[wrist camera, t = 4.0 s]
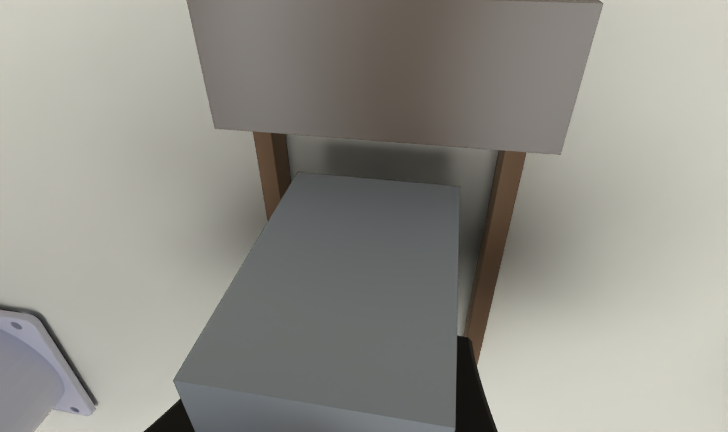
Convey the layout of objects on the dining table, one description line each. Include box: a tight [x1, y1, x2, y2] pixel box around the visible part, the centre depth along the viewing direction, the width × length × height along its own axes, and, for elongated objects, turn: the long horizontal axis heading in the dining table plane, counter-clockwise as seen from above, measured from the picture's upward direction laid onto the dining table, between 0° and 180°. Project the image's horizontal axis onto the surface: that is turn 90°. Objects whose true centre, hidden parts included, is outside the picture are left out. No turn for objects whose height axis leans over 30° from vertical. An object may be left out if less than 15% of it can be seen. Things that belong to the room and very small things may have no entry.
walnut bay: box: [187, 0, 603, 365], centre depth 13 cm, size 8×12×2 cm, turn 1°
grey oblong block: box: [173, 172, 460, 432], centre depth 11 cm, size 4×9×6 cm, turn 1°
